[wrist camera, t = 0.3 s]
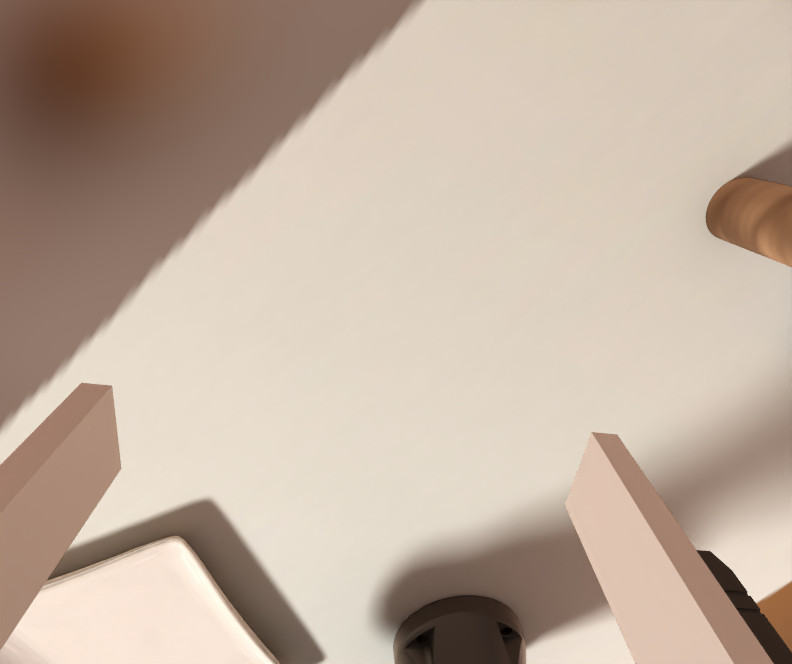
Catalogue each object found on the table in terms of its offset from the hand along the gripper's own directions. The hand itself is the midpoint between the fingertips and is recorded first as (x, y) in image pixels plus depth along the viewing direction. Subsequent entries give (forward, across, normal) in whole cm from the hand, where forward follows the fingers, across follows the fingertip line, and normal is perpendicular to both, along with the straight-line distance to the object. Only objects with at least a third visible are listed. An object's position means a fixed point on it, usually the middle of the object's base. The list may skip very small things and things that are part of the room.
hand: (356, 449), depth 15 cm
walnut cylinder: (+29, -29, -4) cm, 41 cm away
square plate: (+26, +19, +48) cm, 58 cm away
